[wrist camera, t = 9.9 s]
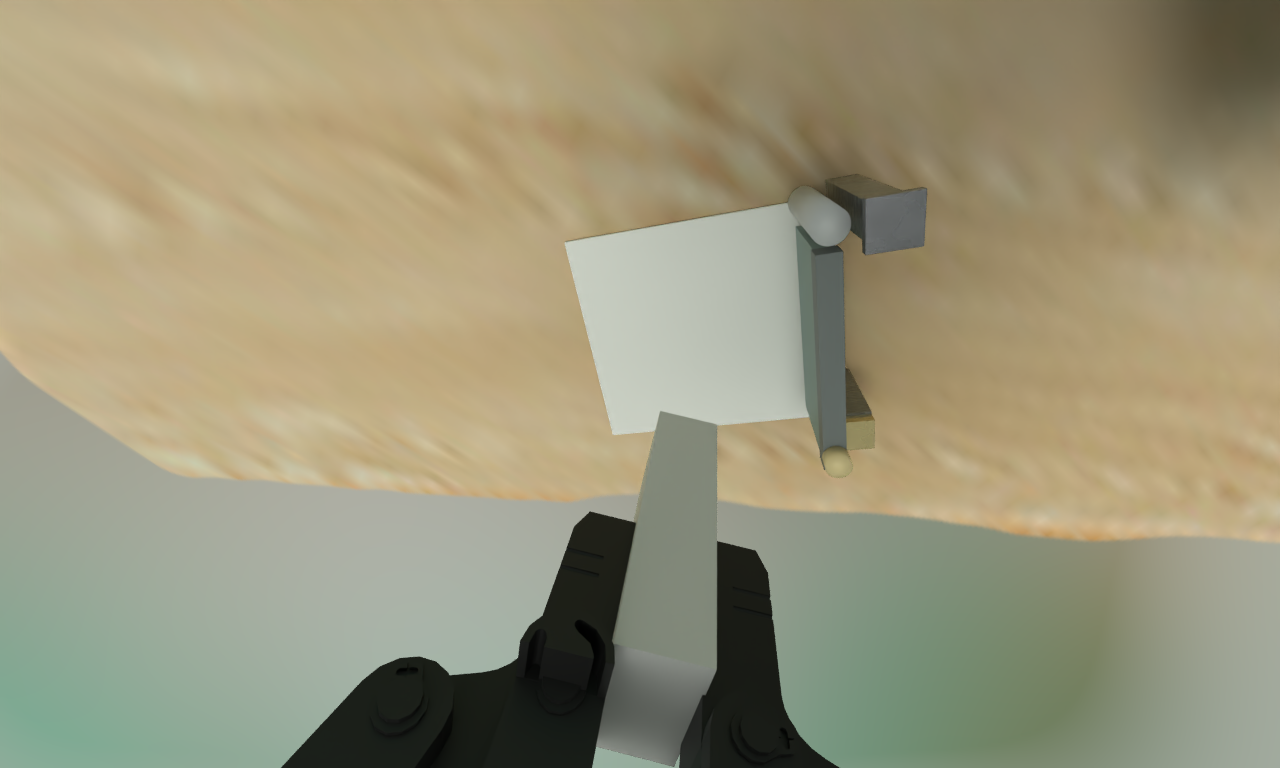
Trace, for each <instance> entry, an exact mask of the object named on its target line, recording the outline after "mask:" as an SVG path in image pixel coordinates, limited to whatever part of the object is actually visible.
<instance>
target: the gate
mask: <svg viewBox="0 0 1280 768" xmlns="http://www.w3.org/2000/svg"><path fill="white" fill-rule="evenodd" d="M788 208H789V210H790V212H791V213H792V214H793V216H794V217H795V218H796V219H797V221H798V222H799V223H800V224H801V226H796V244H797V262H798V279H799V297H800V314H801V332H802V349H803V366H804V384H805V401H806V408H807V411H808V414H809V417H810V421H811V424H812V427H813V430H814V433H815V437H816V440H817V443H818V446H819V449H820V458H821V461H822V464H823V467H824V470H826V472H827V474H828V475H830V476H831V477H834V478H843V477H846V476H847V475H849V474H850V473H851V471H852V469H853V464H852V462H851V459H850V456H849V454H848V452H847V438H846V383H845V327H844V272H843V251H842V250H841V249H840V248H839V247H838V246H837V245H836V244H838V243H840V242H841V241H843V240H844V239H845V238H846V236H847V235H848V233H849V231H850V228H851V219H850V216H849V214H848V212H847V211H846V210H845V209H843V208H842V207H840V206H839V205H837V204H836V203H834V202H833V201H832V200H830V199H829V198H827V197H826V196H824V195H823V194H821V193H820V192H818V191H817V190H815V189H814V188H812V187H810V186H801V187H798V188H797V189H795V190H794V191H793V192H792V193H791V195H790V197H789V199H788ZM835 245H836V246H835Z"/></svg>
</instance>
